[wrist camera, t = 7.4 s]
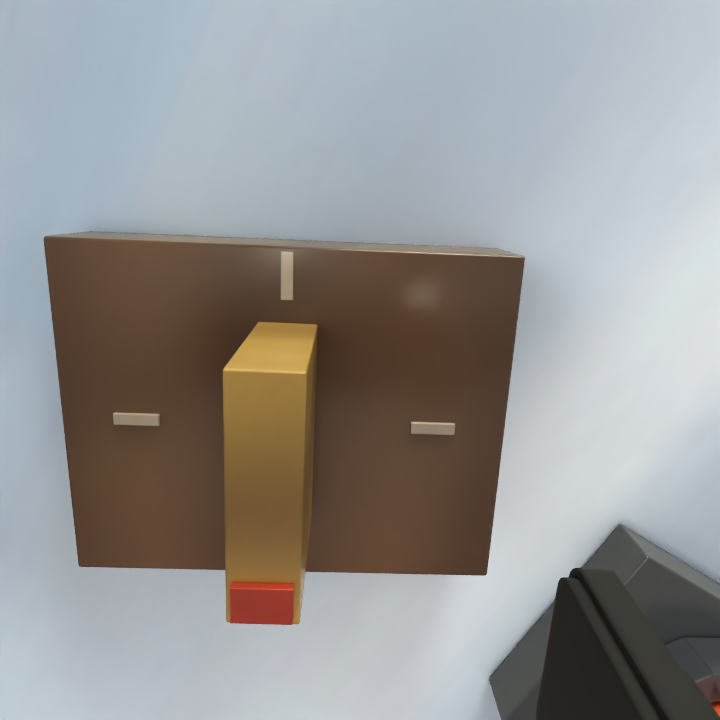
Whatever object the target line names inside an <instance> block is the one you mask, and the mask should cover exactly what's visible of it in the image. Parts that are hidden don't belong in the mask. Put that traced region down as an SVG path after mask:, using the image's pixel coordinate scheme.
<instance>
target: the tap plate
mask: <svg viewBox="0 0 720 720" xmlns="http://www.w3.org/2000/svg"><path fill="white" fill-rule="evenodd" d="M44 246H45V256H46V265H47V274H48V283H49V293H50V302H51V311H52V321H53V330H54V339H55V349H56V358H57V367H58V377H59V386H60V395H61V405H62V414H63V423H64V433H65V442H66V451H67V460H68V470H69V479H70V488H71V498H72V507H73V516H74V526H75V535H76V544H77V554H78V563H79V566H80V567H115V568H161V569H208V570H226V565H225V495H224V424H223V369H224V367H225V366H226V365H227V363H228V362H229V361H230V359H231V358H232V357H233V355H234V354H235V353H236V351H237V350H238V349H239V347H240V346H241V345H242V343H243V342H244V341H245V339H246V338H247V337H248V335H249V334H250V333H251V331H252V330H253V329H254V327H255V326H256V325H257V323H258V322H275V323H297V324H316V325H317V326H318V336H317V366H316V397H315V427H314V458H313V488H312V516H311V525H310V534H309V543H308V552H307V561H306V570H305V572H348V573H394V574H441V575H486V574H487V567H488V559H489V551H490V543H491V534H492V526H493V518H494V509H495V501H496V493H497V485H498V476H499V468H500V460H501V451H502V443H503V435H504V427H505V418H506V410H507V402H508V393H509V385H510V377H511V369H512V360H513V352H514V344H515V336H516V327H517V319H518V311H519V302H520V294H521V286H522V278H523V269H524V261H525V258H524V256H521V255H518V254H514V253H511V252H507V251H504V250H501V249H496V248H472V247H448V246H424V245H401V244H377V243H353V242H329V241H306V240H282V239H258V238H234V237H210V236H187V235H163V234H139V233H115V232H92V231H90V232H80V233H71V234H61V235H52V236H45V237H44Z"/></svg>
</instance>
